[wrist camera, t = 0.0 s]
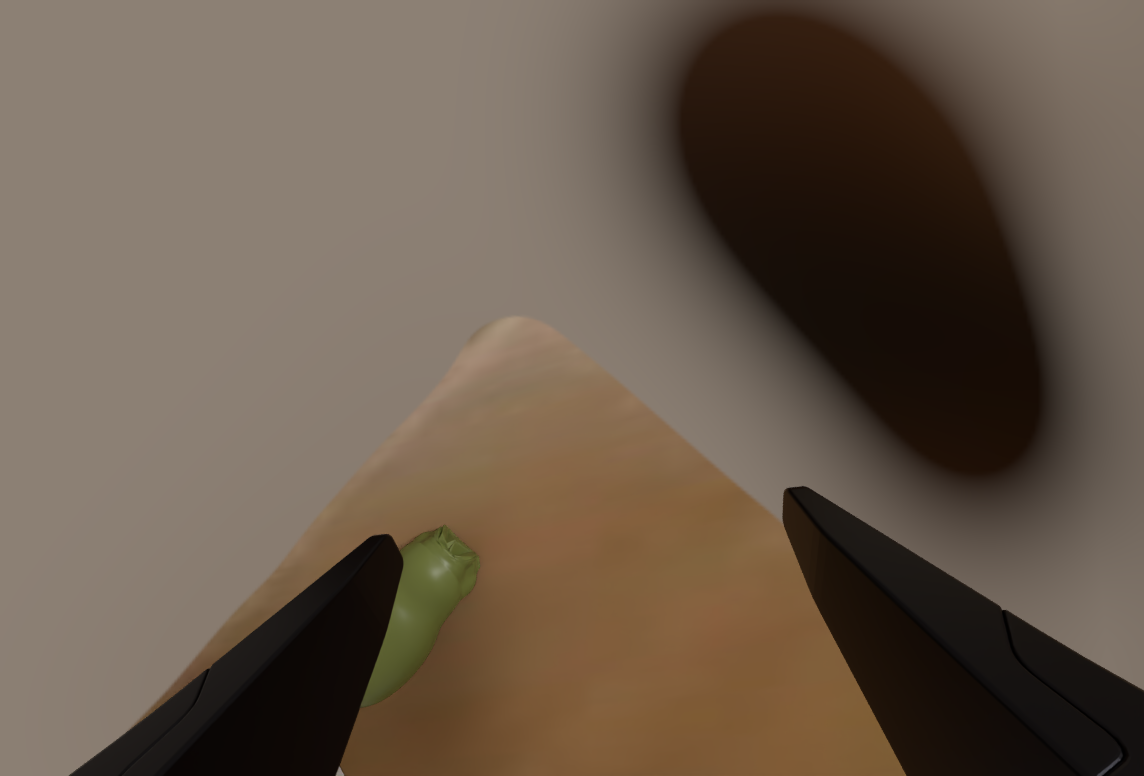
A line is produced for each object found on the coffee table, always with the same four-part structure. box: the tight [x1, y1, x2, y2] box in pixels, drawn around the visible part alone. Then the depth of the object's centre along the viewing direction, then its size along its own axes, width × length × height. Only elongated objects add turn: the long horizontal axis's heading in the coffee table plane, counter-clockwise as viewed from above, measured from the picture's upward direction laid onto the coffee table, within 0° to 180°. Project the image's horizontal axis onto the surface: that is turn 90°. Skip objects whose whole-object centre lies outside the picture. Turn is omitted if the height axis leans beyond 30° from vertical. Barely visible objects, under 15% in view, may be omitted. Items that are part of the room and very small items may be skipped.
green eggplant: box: [360, 525, 480, 708], centre depth 23 cm, size 6×5×10 cm
